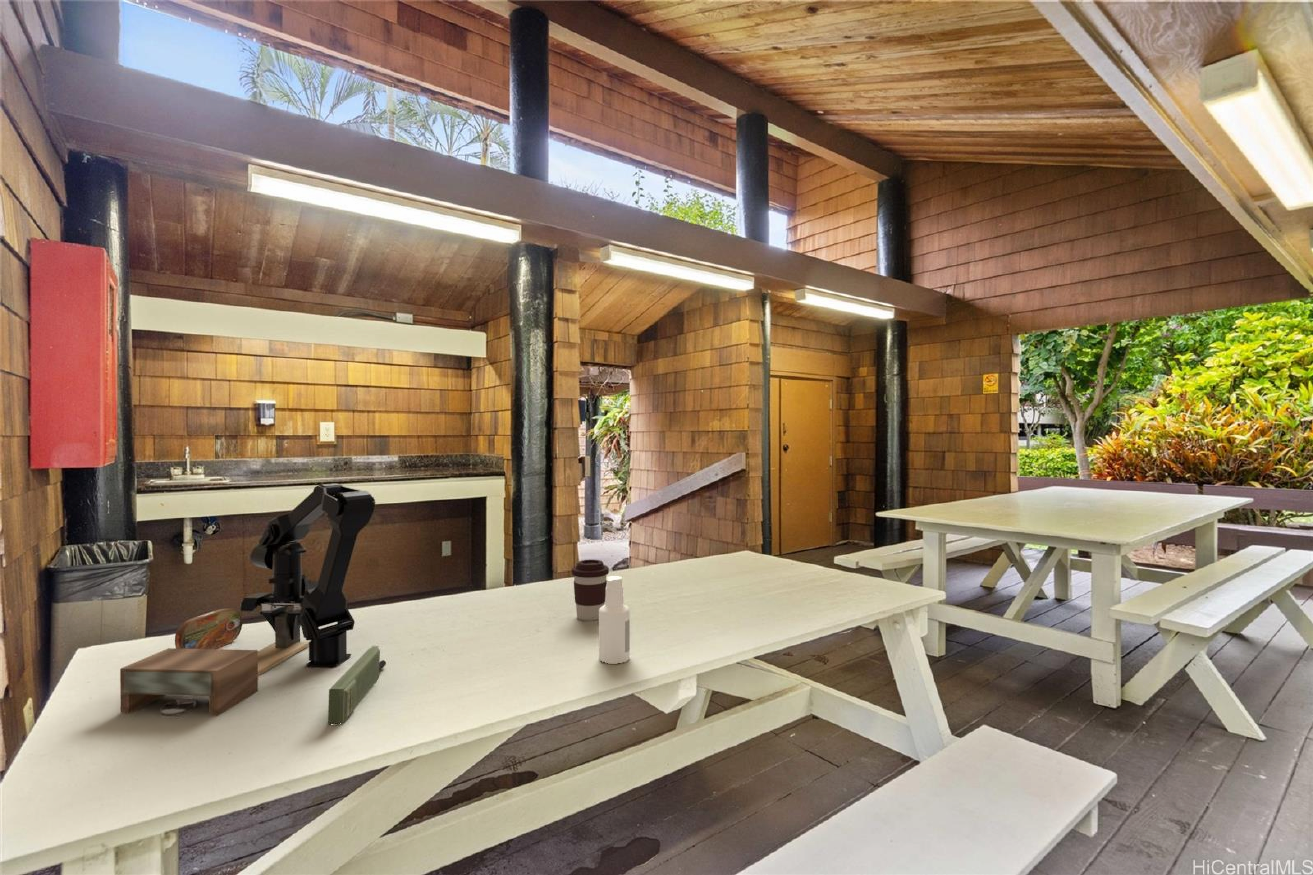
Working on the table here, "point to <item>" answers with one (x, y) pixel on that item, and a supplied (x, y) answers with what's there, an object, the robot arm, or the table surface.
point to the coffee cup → (589, 588)
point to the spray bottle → (614, 624)
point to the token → (178, 707)
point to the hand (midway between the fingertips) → (287, 639)
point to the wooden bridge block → (191, 677)
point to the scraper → (280, 645)
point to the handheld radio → (354, 685)
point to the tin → (209, 630)
